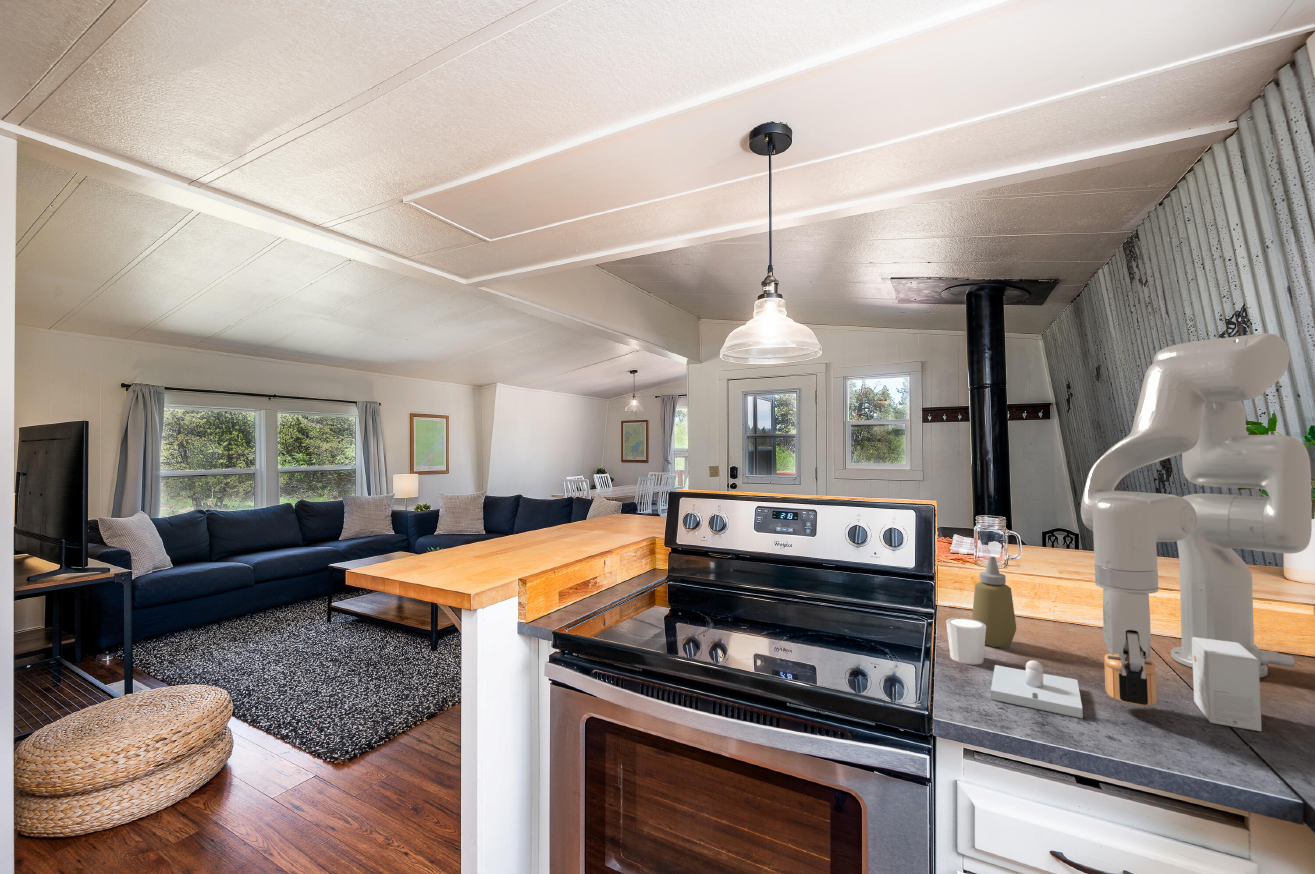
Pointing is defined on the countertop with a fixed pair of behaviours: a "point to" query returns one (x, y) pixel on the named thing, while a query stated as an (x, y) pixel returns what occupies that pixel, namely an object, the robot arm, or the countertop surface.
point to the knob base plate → (1036, 689)
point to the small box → (1226, 683)
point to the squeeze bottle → (994, 606)
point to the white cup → (966, 640)
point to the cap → (1115, 668)
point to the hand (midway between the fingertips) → (1130, 691)
